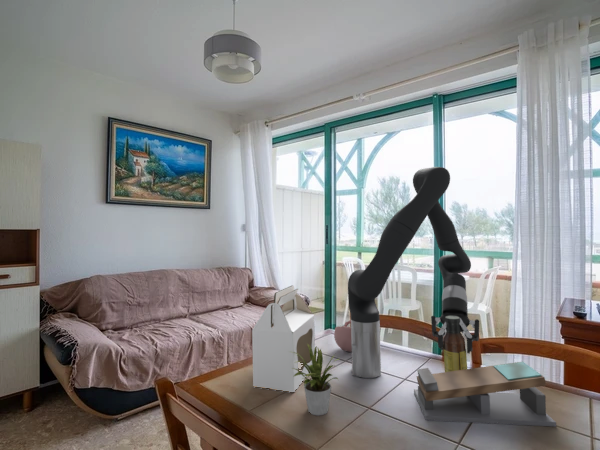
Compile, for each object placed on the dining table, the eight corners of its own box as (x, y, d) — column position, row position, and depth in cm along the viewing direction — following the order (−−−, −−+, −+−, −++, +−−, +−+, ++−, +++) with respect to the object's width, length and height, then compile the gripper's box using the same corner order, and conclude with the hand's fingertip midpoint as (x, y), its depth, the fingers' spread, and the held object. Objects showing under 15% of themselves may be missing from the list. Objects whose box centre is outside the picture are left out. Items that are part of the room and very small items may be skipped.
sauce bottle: (463, 379, 104) (461, 314, 104) (471, 388, 98) (469, 319, 98) (441, 379, 105) (439, 314, 105) (448, 388, 98) (446, 319, 99)
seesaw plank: (426, 401, 84) (423, 385, 84) (417, 383, 94) (414, 369, 94) (546, 385, 81) (542, 368, 81) (524, 368, 90) (520, 354, 91)
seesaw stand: (425, 420, 82) (425, 396, 82) (414, 392, 96) (413, 372, 96) (556, 426, 78) (555, 401, 78) (524, 397, 92) (523, 376, 92)
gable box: (293, 393, 97) (291, 295, 98) (252, 388, 101) (250, 294, 102) (315, 364, 118) (314, 284, 119) (280, 361, 122) (279, 283, 123)
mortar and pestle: (369, 347, 134) (368, 318, 134) (361, 358, 123) (360, 326, 123) (339, 344, 139) (339, 316, 139) (330, 354, 128) (329, 323, 128)
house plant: (279, 401, 93) (278, 341, 93) (324, 391, 98) (323, 334, 98) (300, 429, 79) (299, 358, 80) (351, 415, 85) (349, 349, 85)
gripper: (430, 294, 112) (428, 341, 101) (479, 297, 105) (482, 347, 94) (431, 307, 116) (430, 353, 105) (479, 310, 110) (482, 360, 99)
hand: (455, 350), depth 100 cm, fingers open, 6 cm apart
